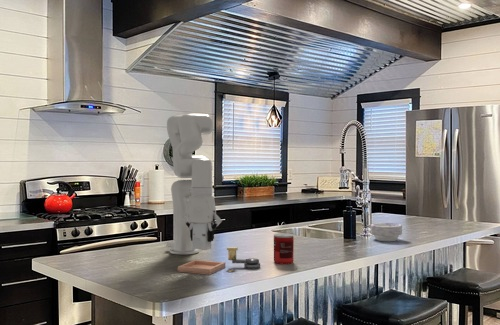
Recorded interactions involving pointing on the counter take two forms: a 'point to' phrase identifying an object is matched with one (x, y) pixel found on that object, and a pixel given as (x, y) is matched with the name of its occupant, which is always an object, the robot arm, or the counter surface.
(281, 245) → the canned food
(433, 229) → the counter surface
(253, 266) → the crank hub
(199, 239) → the skincare box
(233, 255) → the crank
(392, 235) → the paper bowls
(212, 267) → the tray
